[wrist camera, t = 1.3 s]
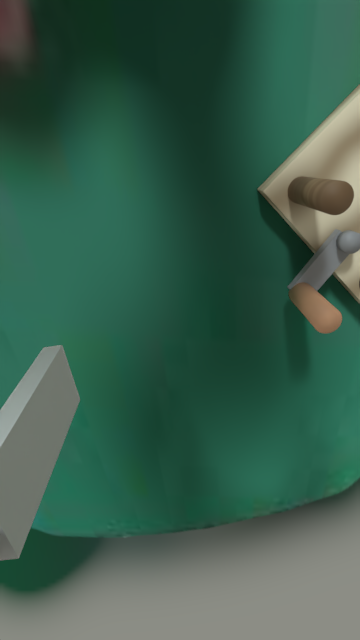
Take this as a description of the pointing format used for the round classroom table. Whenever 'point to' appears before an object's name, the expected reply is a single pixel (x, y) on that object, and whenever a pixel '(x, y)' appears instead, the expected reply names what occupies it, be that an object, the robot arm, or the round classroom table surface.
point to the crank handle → (322, 280)
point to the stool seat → (324, 186)
